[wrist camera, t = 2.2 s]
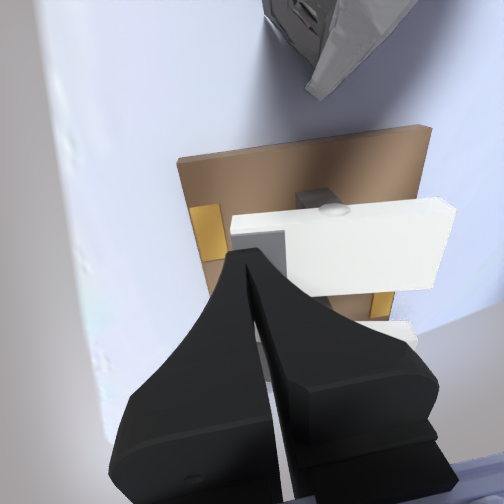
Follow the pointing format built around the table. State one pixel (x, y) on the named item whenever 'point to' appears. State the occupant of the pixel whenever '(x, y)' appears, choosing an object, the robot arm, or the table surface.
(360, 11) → the electrical switch
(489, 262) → the table surface
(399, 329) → the block
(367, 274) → the front rocker
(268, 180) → the switch board
